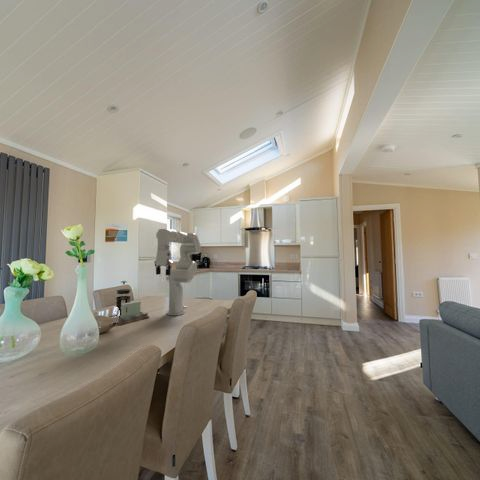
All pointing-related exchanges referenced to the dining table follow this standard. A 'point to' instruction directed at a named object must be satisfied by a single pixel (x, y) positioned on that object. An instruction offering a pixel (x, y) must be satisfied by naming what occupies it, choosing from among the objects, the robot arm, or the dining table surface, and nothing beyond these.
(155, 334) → the dining table surface
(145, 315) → the door track
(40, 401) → the dining table surface
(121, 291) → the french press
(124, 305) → the door panel
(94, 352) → the dining table surface
